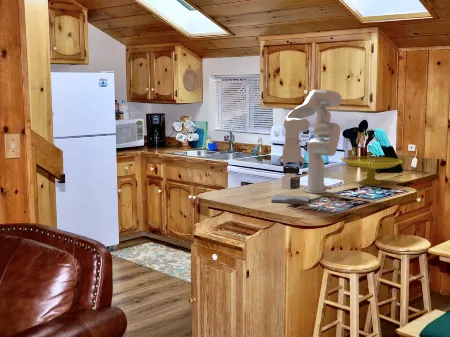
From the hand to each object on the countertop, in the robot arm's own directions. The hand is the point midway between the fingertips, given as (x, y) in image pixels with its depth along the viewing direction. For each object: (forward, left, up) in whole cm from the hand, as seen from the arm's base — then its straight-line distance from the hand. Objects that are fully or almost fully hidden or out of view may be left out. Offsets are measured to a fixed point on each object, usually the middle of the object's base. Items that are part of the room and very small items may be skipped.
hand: (291, 174), depth 328 cm
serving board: (0, 0, -15) cm, 15 cm away
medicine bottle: (0, 0, -8) cm, 8 cm away
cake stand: (-48, -71, -15) cm, 87 cm away
